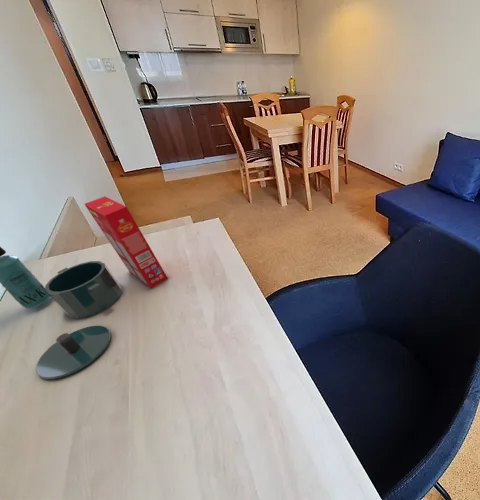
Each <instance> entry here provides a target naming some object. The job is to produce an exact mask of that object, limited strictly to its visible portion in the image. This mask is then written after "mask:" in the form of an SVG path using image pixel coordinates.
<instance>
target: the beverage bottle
mask: <svg viewBox="0 0 480 500" xmlns="http://www.w3.org/2000/svg"><path fill="white" fill-rule="evenodd" d="M6 253H7V252H6V250H5V249H3V248H2V247H1V246H0V284H1V286H2V288H4V289H5V291H6V292H7V293H9V294H10V296H11V297H13V299H14V300H15V301H16V302H17V303H18V304H19V305H21V306H22V308H25V309H33V308H36V307H39V306H41V305H42V304H44V303H46V302H47V301H48V300H49V299H50V298H51V297H50V296H49V295H48V294H47V292H46V291H45V286H44V285H43V283H42V282H40V280H39V279H38V278H37V277H36V276H35V274H34V273H32V271H31V270H29V269H28V268H27V267H26V265H25V264H24V263H23V262H22V261H21V260H20V259H19V257H18V256H16V255H9V254H7V255H5V254H6Z"/></svg>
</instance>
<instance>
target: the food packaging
mask: <svg viewBox="0 0 480 500" xmlns="http://www.w3.org/2000/svg"><path fill="white" fill-rule="evenodd" d="M84 206H85V207H86V209H87V210H88V212H89V213H90V215H91V216H92V218H93V219H94V221H95V222H96V224H97V225H98V227H99V229H100V230H101V231H102V233H103V235H104V236H105V237H106V239H107V240H108V242H109V244H110V246H112V248H113V249H114V251H115V252H116V254H117V256H118V257H119V258H120V260H121V261H122V263H123V265H124V266H125V267H126V269H127V270H128V272H129V273H130V274H131V275H132V276H134V277H135V278H137V279H138V280H139V281H141V282H142V283H143V284H144V285H146V286H147V287H149V288H150V289H153V288H154V287H156V286H158V285H159V284H162V283H163V282H164V281H166V280H168V279H169V277H168V276H167V274H166V272H165V270H164V269H163V267H162V266H161V263H160V261H159V260H158V259H157V257H156V255H155V253H154V251H153V250H152V248H151V247H150V245H149V243H148V241H147V239H146V238H145V235H144V234H143V233H142V231H141V230H140V229H141V228H140V227H139V226H138V224H137V223H136V221H135V219H134V216H132V213H131V212H130V210H129V208H128V207H127V206H126V205H124V204H122V203H120V202H118V201H116V200H114V199H111V198H109V197H107V196H106V195H105V196H102V197H99V198H97V199H93V200H91V201H89V202H85V203H84Z"/></svg>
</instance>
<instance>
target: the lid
mask: <svg viewBox="0 0 480 500" xmlns="http://www.w3.org/2000/svg"><path fill="white" fill-rule="evenodd" d="M111 336H112V335H111V332H110V329H108V328H107V327H105V326H103V325H91V326H86V327H82V328H80V329H77V330H75V331H72V332H70V333H68V332H66V333H63V334H60V335H59V336H58V337H57V338H56V340H55V341H56V342H54V343H53V344H52V345H50V347H48V348H47V350H45V351H44V353H43V354H42V355H41V356H40V358H39V360H38V361H37V363H36V366H35V371H36V374H37V375H38V376H39V377H40V378H42V379H47V380H55V379H60V378H64V377H66V376H67V377H68V376H70V375H72V374H74V373H76V372H78V371H80V370H81V369H83V368H84V367H87V366H88V365H90V364H91V363H92V362H93V361H95V360H96V359H97V358H98V357H99V356H100V355H102V353H103V352H104V351H105V350H106V348H107V347H108V345H109V344H110V341H111Z"/></svg>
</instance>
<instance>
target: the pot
mask: <svg viewBox="0 0 480 500" xmlns="http://www.w3.org/2000/svg"><path fill="white" fill-rule="evenodd" d="M56 273H57V274H56V275H55V276H53V277H52V278H51V279H49V281H48V282H47V283H46V284H45V286H44V288H45V291H46V292H47V294H48V295H49V296H50V298H51V299H52V300H53V301H54V302H55V304H56V305H57V306H58V307H60V309H61V310H62V311H63V312H64V313H65V314H66V315H67V316H68V317H69V318H71V319H75V320H76V319H77V320H78V319H86V318H89V317H92V316H95V315H97V314H100V313H102V312H103V311H106V310H107V309H109V308H110V307H111V306H112V305H114V304H115V303H116V302H117V301H118V300H119V299H120V298H121V296H122V294H123V288H122V286H121V284H120V283H119V282H118V280H117V279H116V278H115V276H114V275H113V274H112V272H111V270H110V269H109V267H108V266H107V265H106V263H105V262H102V261H100V260H91V261H85V262H82V263H81V262H80V263H79V264H75V265H73V266H70V267H64V268H62V269H61V270H59V271H57V272H56Z"/></svg>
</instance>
